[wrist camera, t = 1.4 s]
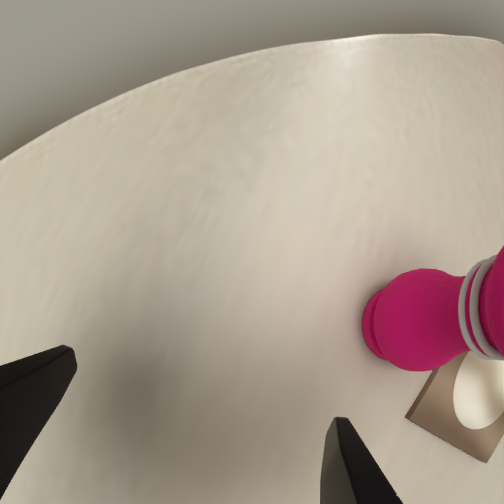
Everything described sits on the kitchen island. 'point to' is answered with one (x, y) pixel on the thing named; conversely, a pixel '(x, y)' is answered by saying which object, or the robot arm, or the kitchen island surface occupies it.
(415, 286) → the pepper mill
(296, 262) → the kitchen island surface
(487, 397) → the kitchen scale
